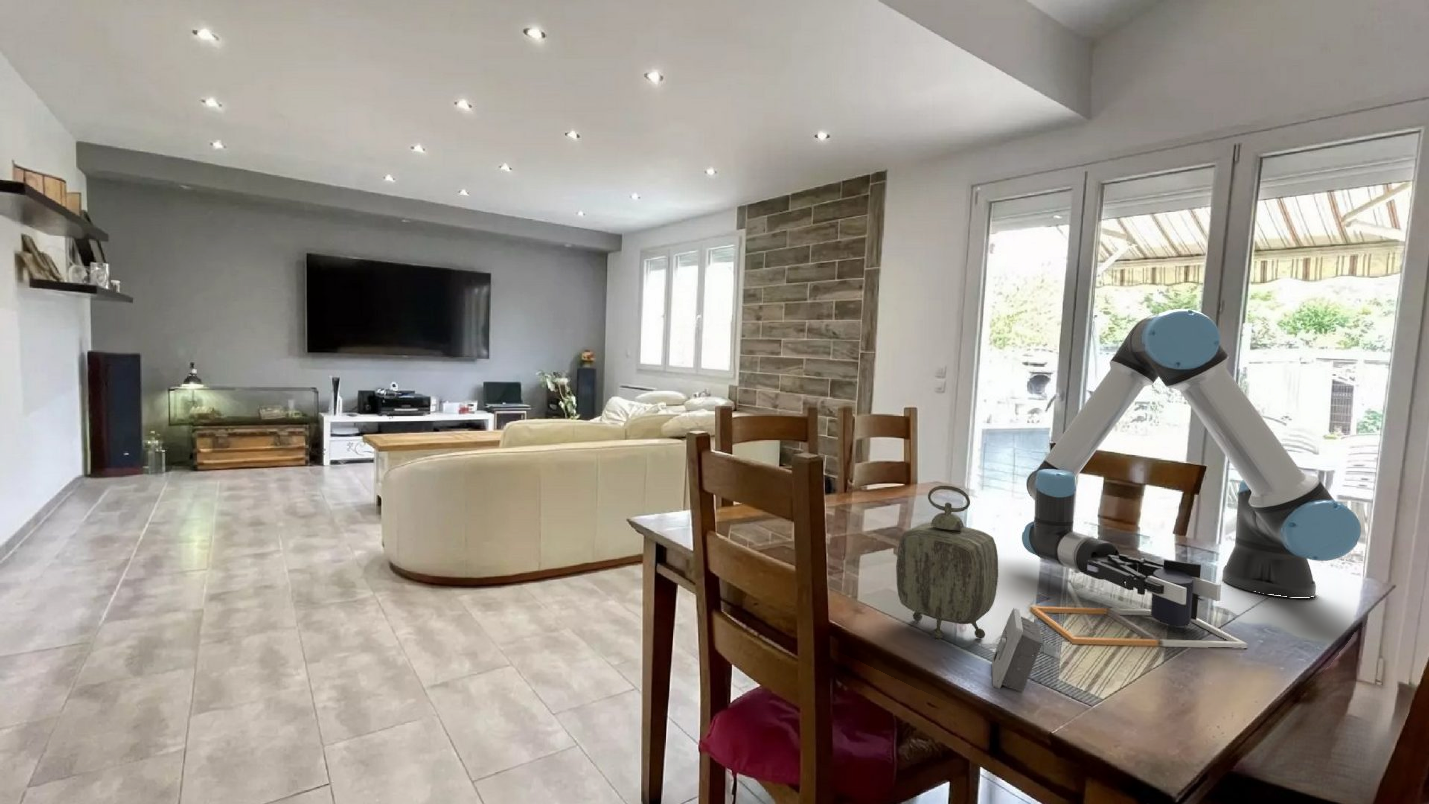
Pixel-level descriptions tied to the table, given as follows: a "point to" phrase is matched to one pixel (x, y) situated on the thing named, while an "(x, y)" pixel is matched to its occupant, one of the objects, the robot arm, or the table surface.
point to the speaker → (1169, 609)
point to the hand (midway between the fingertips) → (1201, 594)
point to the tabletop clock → (947, 569)
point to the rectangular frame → (1149, 637)
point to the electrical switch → (1016, 652)
